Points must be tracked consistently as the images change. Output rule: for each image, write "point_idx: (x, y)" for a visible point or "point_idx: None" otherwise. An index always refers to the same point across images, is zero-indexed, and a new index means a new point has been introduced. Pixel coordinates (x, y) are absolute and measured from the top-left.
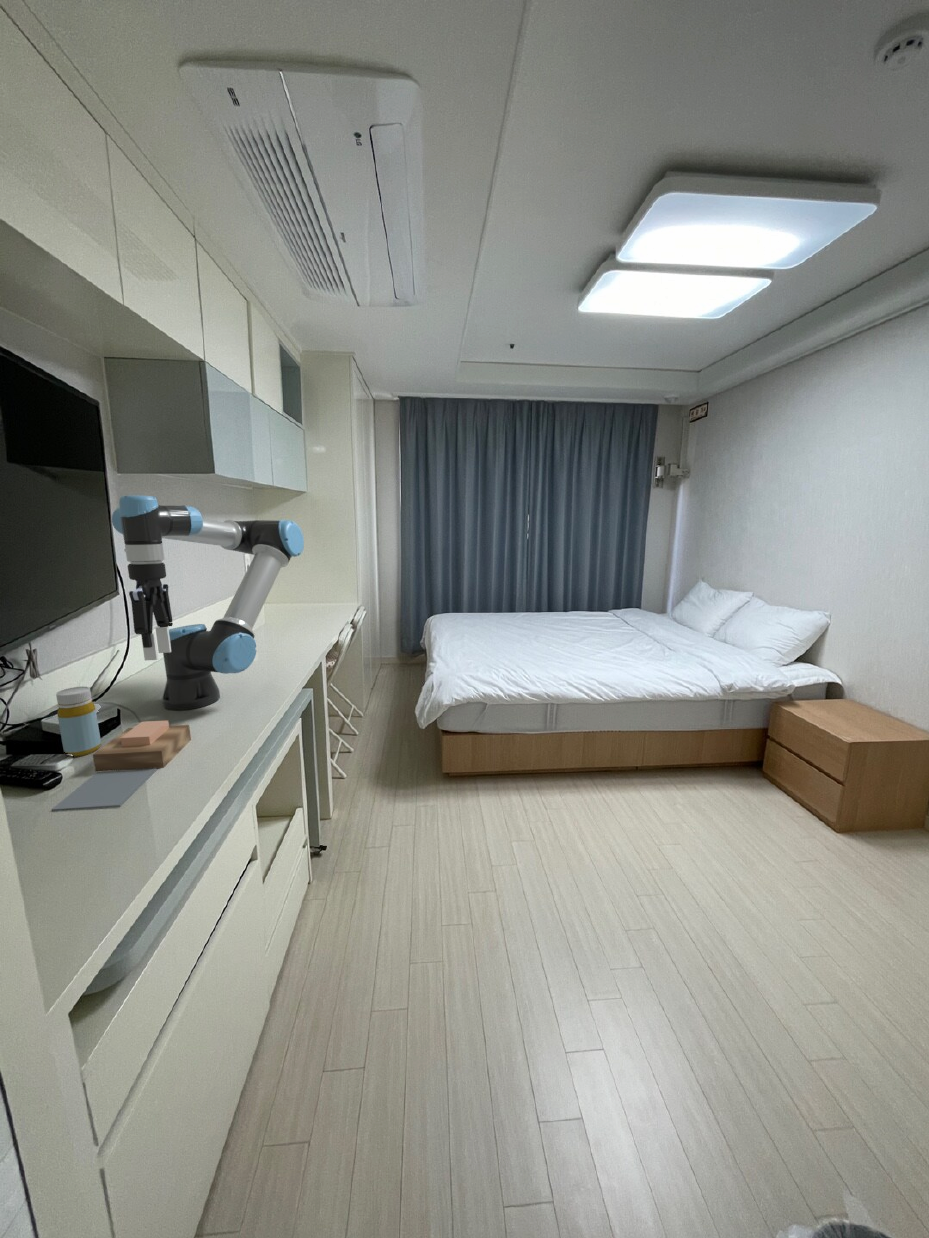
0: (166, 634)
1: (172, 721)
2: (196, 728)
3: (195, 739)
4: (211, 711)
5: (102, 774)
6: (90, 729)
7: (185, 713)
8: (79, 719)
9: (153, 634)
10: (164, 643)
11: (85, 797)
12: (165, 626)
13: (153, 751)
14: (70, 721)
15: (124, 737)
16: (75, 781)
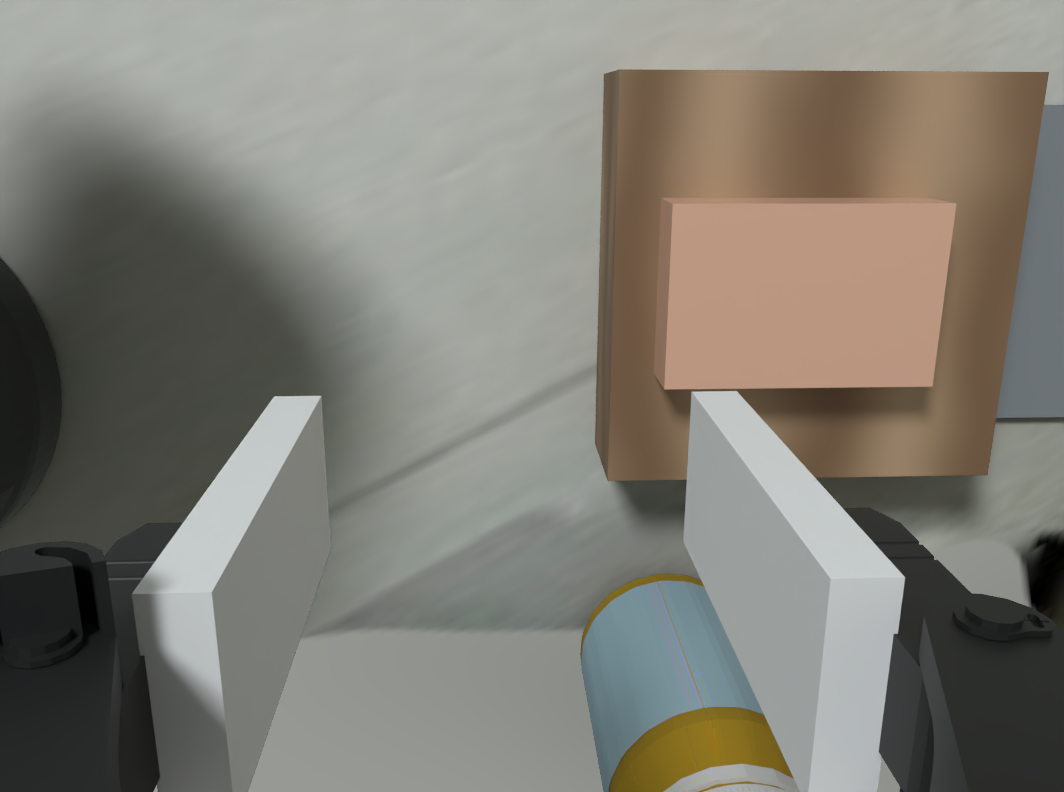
0: (257, 539)
1: (266, 347)
2: (407, 117)
3: (600, 44)
4: (73, 133)
5: (1008, 375)
6: (731, 647)
7: (115, 321)
8: None
9: (891, 567)
10: (297, 517)
11: None
12: (127, 664)
13: (1038, 126)
14: None
15: (932, 364)
16: (1023, 475)
